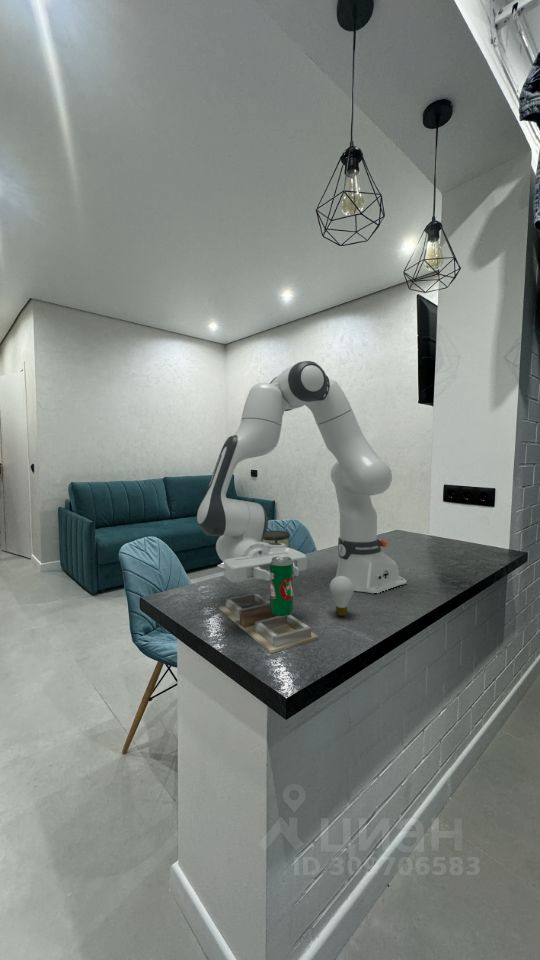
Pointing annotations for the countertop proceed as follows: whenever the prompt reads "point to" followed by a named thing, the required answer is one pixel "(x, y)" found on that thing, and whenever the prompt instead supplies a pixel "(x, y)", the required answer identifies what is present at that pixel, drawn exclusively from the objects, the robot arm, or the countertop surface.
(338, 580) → the light bulb
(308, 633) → the socket board
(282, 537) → the coffee can
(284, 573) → the soda can
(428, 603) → the countertop surface
